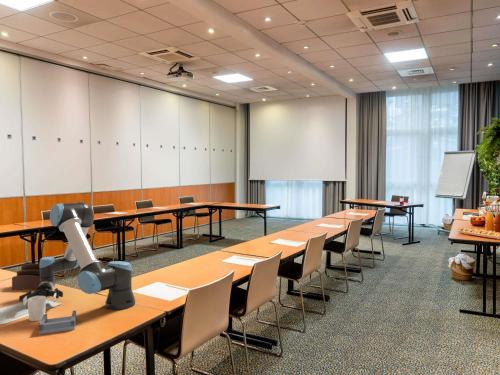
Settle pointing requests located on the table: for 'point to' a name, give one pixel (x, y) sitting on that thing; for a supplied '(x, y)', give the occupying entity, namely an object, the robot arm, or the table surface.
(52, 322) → the dock
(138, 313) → the table surface
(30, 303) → the white cup
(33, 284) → the letter holder
